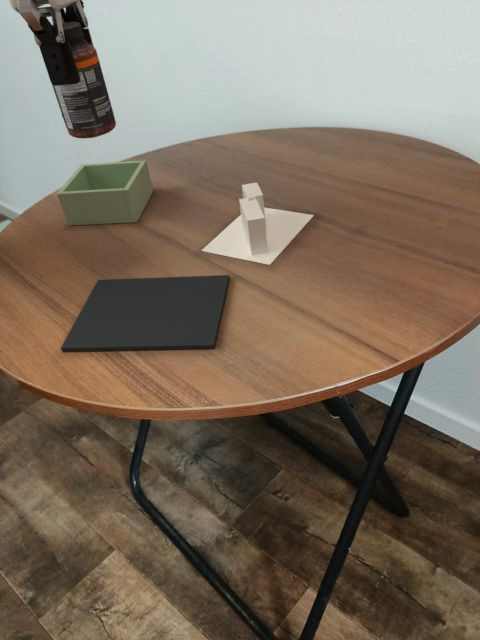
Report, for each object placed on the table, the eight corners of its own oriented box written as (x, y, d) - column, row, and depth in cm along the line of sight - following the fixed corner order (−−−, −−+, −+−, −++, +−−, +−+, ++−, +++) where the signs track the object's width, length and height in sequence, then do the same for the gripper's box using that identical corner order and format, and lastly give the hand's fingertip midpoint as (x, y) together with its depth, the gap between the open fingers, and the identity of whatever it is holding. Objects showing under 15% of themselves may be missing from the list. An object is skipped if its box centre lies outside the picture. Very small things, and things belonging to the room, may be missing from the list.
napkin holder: (271, 265, 70) (267, 226, 66) (200, 251, 75) (193, 214, 71) (314, 214, 80) (313, 178, 76) (249, 205, 84) (245, 170, 80)
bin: (68, 225, 85) (56, 193, 81) (91, 194, 93) (81, 164, 90) (137, 222, 83) (128, 189, 80) (153, 190, 92) (146, 160, 88)
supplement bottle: (81, 124, 67) (50, 21, 60) (124, 122, 66) (98, 18, 58) (60, 140, 63) (23, 32, 55) (105, 139, 61) (74, 28, 54)
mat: (62, 352, 60) (60, 348, 60) (99, 283, 71) (97, 279, 70) (214, 348, 58) (213, 344, 58) (229, 278, 69) (229, 274, 68)
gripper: (13, -130, 55) (70, 60, 67) (-75, -136, 42) (15, 101, 54) (81, -139, 54) (126, 55, 66) (12, -148, 41) (84, 95, 53)
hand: (76, 74), depth 60 cm, fingers closed on supplement bottle, 6 cm apart
